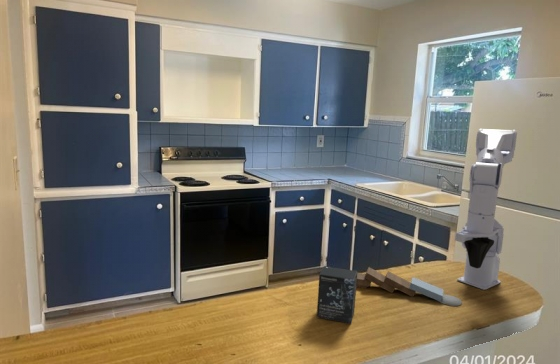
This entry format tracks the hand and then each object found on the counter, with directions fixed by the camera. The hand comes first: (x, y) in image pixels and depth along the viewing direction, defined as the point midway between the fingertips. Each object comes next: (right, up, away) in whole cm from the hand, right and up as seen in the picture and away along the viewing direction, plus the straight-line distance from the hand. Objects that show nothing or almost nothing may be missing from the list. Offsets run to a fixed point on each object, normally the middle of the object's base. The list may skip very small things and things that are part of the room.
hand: (474, 266), depth 98 cm
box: (-35, -10, -6) cm, 37 cm away
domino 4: (-13, -8, +7) cm, 16 cm away
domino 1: (-23, -6, +10) cm, 26 cm away
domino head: (-6, -8, +4) cm, 11 cm away
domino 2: (-24, -7, +11) cm, 27 cm away
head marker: (-5, -9, +3) cm, 11 cm away
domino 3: (-17, -7, +9) cm, 21 cm away
